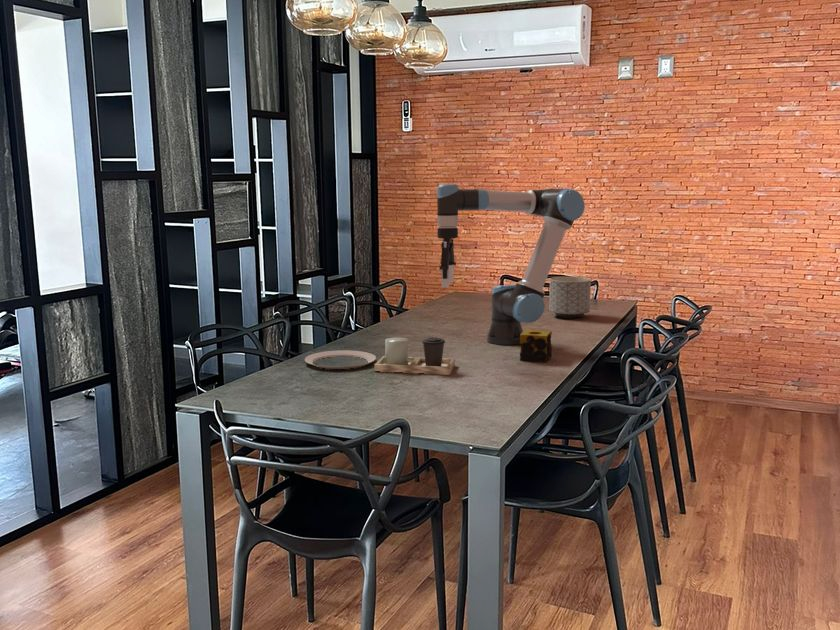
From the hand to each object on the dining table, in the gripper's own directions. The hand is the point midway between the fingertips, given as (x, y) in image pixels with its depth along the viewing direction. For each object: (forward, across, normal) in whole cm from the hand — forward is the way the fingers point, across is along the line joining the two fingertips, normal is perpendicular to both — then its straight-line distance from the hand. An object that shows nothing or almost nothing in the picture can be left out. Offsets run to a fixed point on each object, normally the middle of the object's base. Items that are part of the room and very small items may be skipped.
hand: (447, 285), depth 287 cm
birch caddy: (+26, +23, -9) cm, 36 cm away
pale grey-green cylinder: (+26, +23, -15) cm, 38 cm away
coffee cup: (+26, +23, -2) cm, 34 cm away
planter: (+27, -89, +46) cm, 104 cm away
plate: (+27, +18, -36) cm, 49 cm away
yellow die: (+27, +1, +33) cm, 42 cm away
